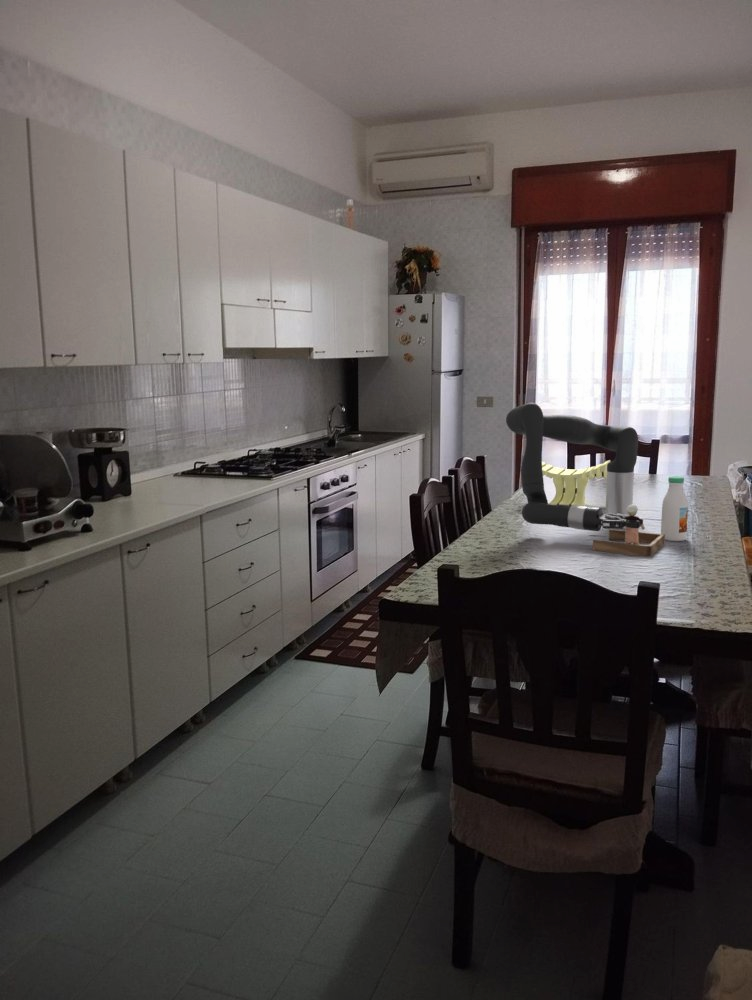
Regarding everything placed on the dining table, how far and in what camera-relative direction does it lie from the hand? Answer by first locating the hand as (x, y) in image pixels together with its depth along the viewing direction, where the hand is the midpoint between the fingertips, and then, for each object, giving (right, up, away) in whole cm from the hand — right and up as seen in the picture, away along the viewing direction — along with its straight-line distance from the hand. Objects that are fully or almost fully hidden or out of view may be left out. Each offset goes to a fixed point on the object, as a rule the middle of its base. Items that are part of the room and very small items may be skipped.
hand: (641, 523), depth 241 cm
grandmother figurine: (-2, -7, +3) cm, 8 cm away
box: (-3, -7, +3) cm, 9 cm away
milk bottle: (+14, -5, +12) cm, 20 cm away
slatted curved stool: (-5, +5, +73) cm, 73 cm away
